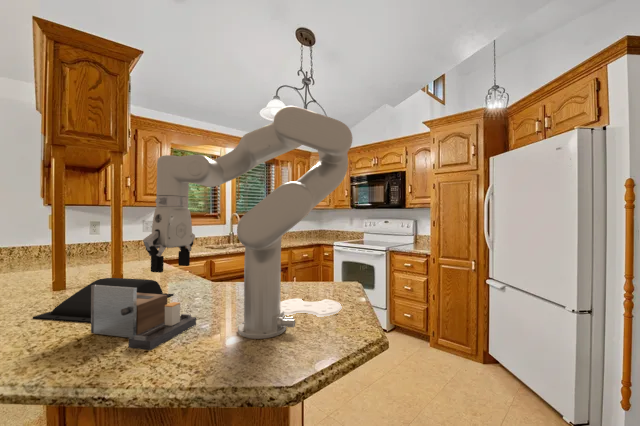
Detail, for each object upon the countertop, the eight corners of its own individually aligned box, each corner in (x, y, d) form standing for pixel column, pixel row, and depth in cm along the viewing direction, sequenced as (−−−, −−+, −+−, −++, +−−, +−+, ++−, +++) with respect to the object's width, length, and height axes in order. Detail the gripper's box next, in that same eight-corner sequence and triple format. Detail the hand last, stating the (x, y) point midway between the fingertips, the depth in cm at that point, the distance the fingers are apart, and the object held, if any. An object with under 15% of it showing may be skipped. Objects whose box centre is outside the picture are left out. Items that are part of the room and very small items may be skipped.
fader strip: (195, 324, 82) (195, 315, 82) (150, 350, 66) (150, 338, 66) (177, 322, 83) (177, 313, 83) (128, 347, 68) (128, 335, 68)
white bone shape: (279, 294, 109) (347, 296, 106) (279, 299, 109) (347, 301, 106) (261, 312, 89) (345, 315, 86) (261, 318, 89) (345, 321, 86)
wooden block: (167, 323, 83) (167, 294, 83) (137, 337, 73) (137, 305, 73) (129, 319, 86) (129, 291, 86) (95, 332, 76) (96, 301, 76)
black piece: (119, 294, 116) (32, 320, 86) (119, 272, 116) (33, 291, 87) (173, 297, 112) (102, 326, 82) (173, 274, 112) (102, 296, 82)
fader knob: (180, 321, 78) (180, 302, 78) (171, 325, 75) (172, 306, 75) (172, 320, 79) (173, 302, 79) (164, 325, 76) (164, 305, 76)
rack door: (136, 336, 73) (137, 287, 73) (128, 340, 71) (129, 289, 71) (94, 331, 76) (94, 284, 76) (85, 334, 74) (85, 286, 74)
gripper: (159, 202, 68) (158, 276, 68) (205, 205, 85) (204, 264, 85) (132, 201, 70) (131, 274, 70) (182, 204, 87) (181, 262, 87)
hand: (171, 268), depth 77 cm, fingers open, 9 cm apart
